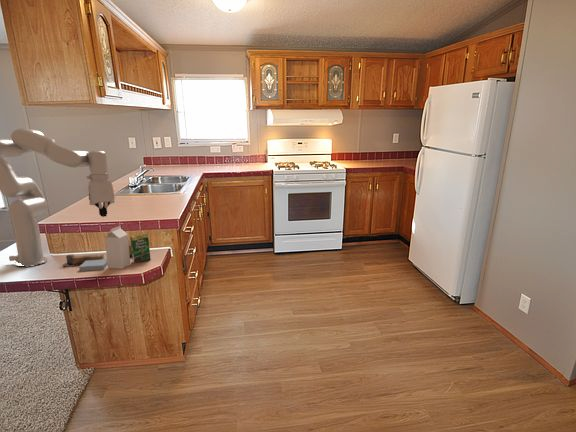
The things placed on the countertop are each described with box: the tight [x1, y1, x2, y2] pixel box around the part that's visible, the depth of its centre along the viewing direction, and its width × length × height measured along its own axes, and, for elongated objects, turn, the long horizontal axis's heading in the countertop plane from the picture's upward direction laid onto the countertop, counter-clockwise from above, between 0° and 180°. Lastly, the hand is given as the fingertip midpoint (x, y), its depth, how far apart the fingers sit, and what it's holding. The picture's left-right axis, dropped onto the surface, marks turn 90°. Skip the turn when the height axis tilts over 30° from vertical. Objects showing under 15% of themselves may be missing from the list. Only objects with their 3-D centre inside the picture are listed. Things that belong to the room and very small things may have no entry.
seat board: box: [78, 258, 108, 272], centre depth 160 cm, size 10×9×2 cm
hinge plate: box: [62, 262, 81, 268], centre depth 163 cm, size 7×7×1 cm
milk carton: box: [104, 225, 131, 270], centre depth 159 cm, size 7×7×19 cm
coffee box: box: [130, 233, 151, 263], centre depth 167 cm, size 8×3×13 cm, turn 127°
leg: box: [65, 254, 105, 265], centre depth 164 cm, size 16×3×4 cm, turn 108°
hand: (103, 216), depth 161 cm, fingers closed
